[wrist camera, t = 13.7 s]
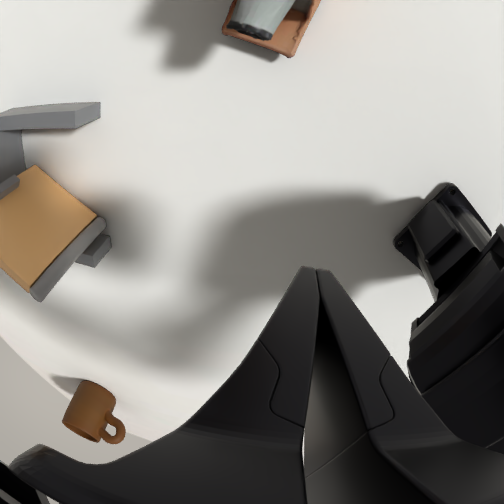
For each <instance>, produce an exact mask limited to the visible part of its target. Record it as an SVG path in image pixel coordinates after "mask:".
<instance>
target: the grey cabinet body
mask: <svg viewBox="0 0 504 504" xmlns="http://www.w3.org/2000/svg"><path fill="white" fill-rule="evenodd" d="M98 118H100V102H84V103H63V104H49V105H38V106H29V107H20V108H12V109H9V110H7V111H4V112H2V113H0V184H1V183H2V182H4V181H5V180H7V179H8V178H10V177H11V176H13V175H14V174H15V175H16V176H18V175H19V174H21V173H22V172H24V171H25V170H26V167H25V160H24V153H23V145H22V136H21V129H47V128H77V127H80V126H82V125H84V124H87V123H89V122H91V121H94V120H96V119H98ZM110 248H111V242H110V236H107V235H102V234H99V235H98V236H97V237H96V238H95V239H94V241H93V242H92V243H91V244H90V245H89V246H88V247H87V248H86V249H85V250H84V252H83V253H82V254H81V255H80V256H79V257H78V258H77V260H76V261H75V262H76V263H79V264H83V265H87V266H90V267H94V268H95V267H96V266H97V264H98V263H99V262H100V261H101V259H102V258H103V257H104V256H105V254H106V253H107V252H108V251H109V250H110Z"/></svg>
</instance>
